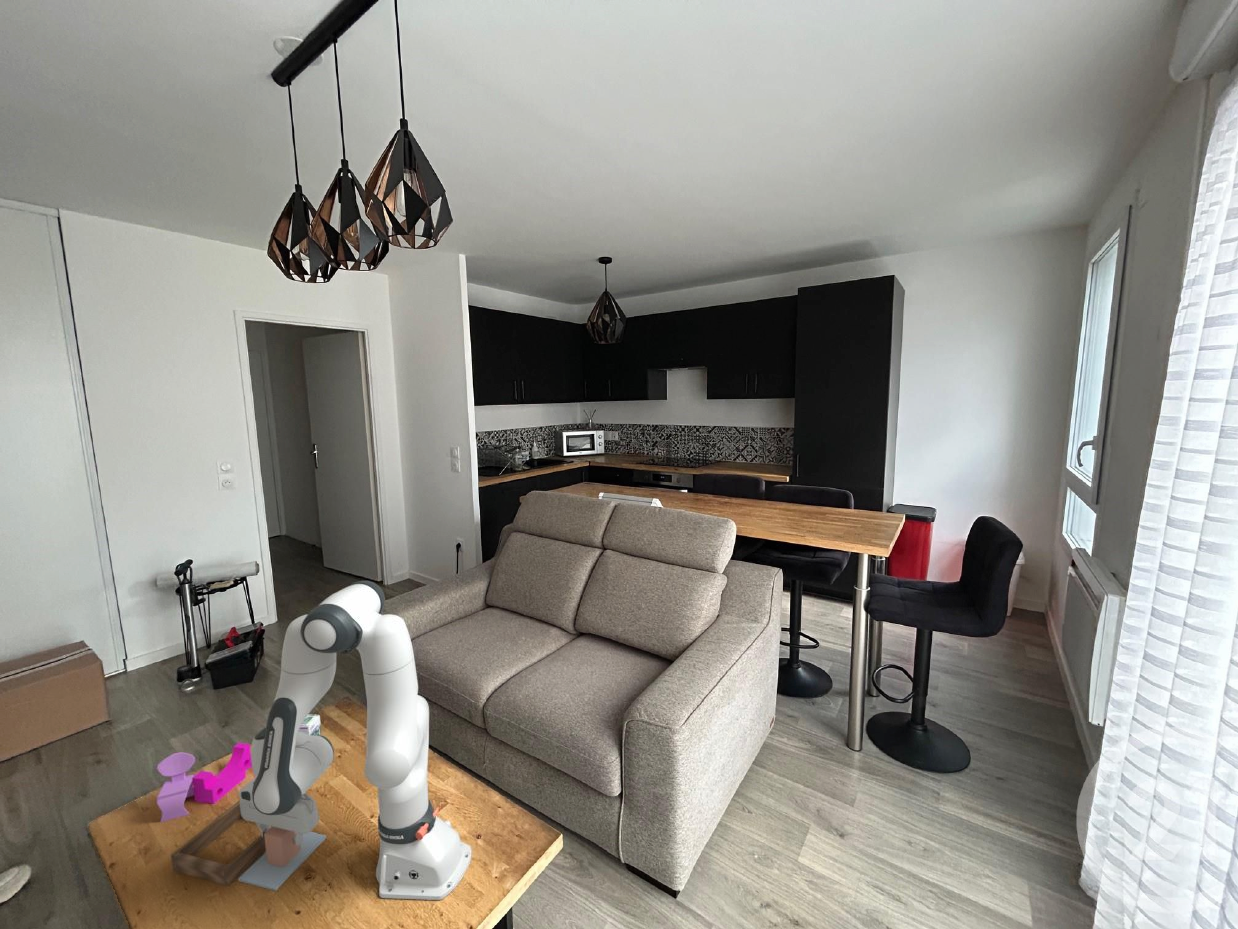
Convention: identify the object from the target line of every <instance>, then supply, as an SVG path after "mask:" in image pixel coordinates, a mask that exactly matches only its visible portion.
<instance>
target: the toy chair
mask: <svg viewBox="0 0 1238 929" xmlns="http://www.w3.org/2000/svg"><path fill="white" fill-rule="evenodd" d="M195 762H196V757H195V756H194V755H193V754H190V753H189V752H180V751H179V752H175V753H173V754H171V755H169V756H167V757H165V758H164V759H163V760H161V761H160V762H159V763H158V765H157V767H156V770H157V771H158V773H160V775H162V777H170V778H171V779H170V780H166V781H165V782H164V783H163V786H162V787H161V790H160V791H159V793H158V794H157V797H156V804H157V806H158V807H159V809H160V811H161V817H160V821H159V822H160V823H163V822H166V821H170V820H172V819H177V818H181V817H184V816H187V815H190V812H189V811H188V810H187V809H186V808H185V801H186V798H190V797H193V796H194V788H193V780H192V778H193V777H194V776H195V774H190V775H186V772H188V771H189V770H190V769H191V768H192V766H193V765H194V764H195ZM194 797H195V796H194Z"/></svg>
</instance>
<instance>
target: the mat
mask: <svg viewBox="0 0 1238 929" xmlns="http://www.w3.org/2000/svg"><path fill="white" fill-rule="evenodd" d="M326 838H327V834H322V833H317V832H314V831H310V832H309V833H308V834H303V841H302V842H301V843H300V844H301V850H300V851H299V852H298V853H297V854H296V855H295V856H294V857H293V858H292V859H291V861H290V862H289V863H288V864H287V865H286V866H285V867H281V866H277V865H273V864H269V863H267V856H266V851H265V852H264V853H263V854H262V855H261V856H260V857H259V858H257V859H256V860H255V861H254V862H253V863H252V864H251V865H250V866H249V867H248V868H247V869H246V870H245V871H244V872H243V873H242V874H240V875H239V876H238V877H237V881H238V882H242V883H245V884H248V885H252V886H256V887H260V888H264V889H268V890H271V891H275V892H277V890H278V889H279V888H280V887H282V885H283V884H284V883H285V882H286V881H287V880H288V878H290V876H291V875H292V874H293V873H295V871H296V870H297V869H298V868H299V867H300V866H301V865H302V864H303V863H304V862H305V861H306V860H307V859H308V857H309V856H310V855H311V854H312V853H313V852H314V851H315V850H316V849H317V848H318V847H319V846H320V845H321V844H322V843H323V842H324V841H325V839H326Z"/></svg>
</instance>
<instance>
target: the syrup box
mask: <svg viewBox="0 0 1238 929" xmlns="http://www.w3.org/2000/svg"><path fill="white" fill-rule="evenodd" d="M299 731H300V732H303V733H306V734H309V735H322V736H323V734H322V733H323V732H322V725H321V715H320V714H313V713H309V714H308V715H307V717H306V718H305V720H304V721H303V723H302V725H301V727H300V729H299Z"/></svg>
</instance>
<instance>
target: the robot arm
mask: <svg viewBox="0 0 1238 929" xmlns="http://www.w3.org/2000/svg"><path fill="white" fill-rule="evenodd" d="M385 603H386V597H385V593H384V591H383V589H382V588H381V587H380V586H379V584H377V583H376V582H373V581H370V580H359V581H358V580H357V581H355V582H352V583H350V584H347V586H345V587H344V588H342V589H341V590H338V591H336V592H334V593H332V594H331V595H329V596H328V597H327V598H325V599H324V600H322V602H321V603H319V605H317V606H315V607H314V608H312V609H311V610H310V612H308V614H303V615H301V616H298V617H297V618H295V619H294V620H292V621H291V622H290V624H289V625H288V627H287V628H286V631H285V634H284V640H283V645H282V649H281V660H280V661H281V662H280V667H281V668H280V675H279V676H280V677H279V682H278V685H277V686H278V688H277V690H276V694H275V697H274V700H273V703H272V705H271V707H270V710H269V713H268V716H267V722H266V726H265V727H264V728H263V729H262V730H260V731H259V732H258V733H257V734H256V735H254V737H253V739H252V741H251V742H252V743H251V747H250V752H251V762H252V766H251V769H252V772H253V774H254V776H255V777H254V778H253V779H251V780H249V782H247V783H246V784H245V785H244V786H243V787H242V788H241V789H239V790H238V792H237V793H238V798H239V800H240V811H241V816H242V817H241V818H243V819H244V821H247V822H251V823H255V825H256V827H257V828H258V829H259V831H260V835H261V836H262V837H264V834H265V833H266V832H267V831H268V830H269V829H270V828H271V826H273V827H277V828H281V829H285V830H290V831H294V832H295V834H296V836H294V837H293V838H292V841H293V844H295V845H299V844H300V843H301V842H302V841H303V834H308V833H309V832H312V831H313V829H314V828H315V827H316V826H317V825H318V823H319V822H320V816H319V810H318V807H317V803H316V801H315V799H314V797H312V796H310V794H308V793H306V792H307V791H308V790H309V789H310V788H311V787H313V785H314V784H315V783H316V782H317V781H318V780H319V778H320V777H321V776H322V775H323V774H324V773H325V772H326V771H327V770H328V769H329V768H330V766H331V765H332V764H333V762H334V759H335V750H334V747H333V746H334V745H333V744H332V742H331V740H330V739H329V738H327V737H326V736H324V735H323V734H322V735H309V734H306V733H303V732H300V731H299V729H300V727H301V725H302V723H303V721H304V720H305V718H306V717H307V715H308V714H311V712H312V710H313V709H314V708H315V706H316V705H317V704H318V703H319V702H320V701H321V699H322V698H323V697H324V696H325V695H326V694H327V693H328V692H329V690H330V689H331V686H332V685H333V682H334V680H335V675H336V670H337V653H338V654H341V655H346V654H350V653H352V652H353V651H354V650H357V651H358V653H359V655H360V660H361V667H362V672H363V673H362V674H363V681H364V687H365V689H364V690H365V694H366V706H367V707H366V708H367V709H366V710H367V711H366V753H365V754H366V755H365V762H364V763H365V764H364V775H365V776H364V777H365V779H366V780H367V781H368V782H369V783H370V784H371V785H372V786H374V787H376V788H377V798H378V800H377V801H378V802H377V803H378V812H379V813H378V816H377V830H378V836H379V838H380V841H379V842H380V843H379V855H378V860H377V865H376V869H375V878H376V880H377V882H378V884H379V890H378V891H379V892H378V896H379V897H380V898H382V899H396V900H397V899H399V900H406V899H407V900H424V901H425V900H426V901H427V900H430V901H440V900H443V899H445V898H446V897H447V896H448V895H450V893H451V892H453V891H454V890H455V889H456V887H457V885H459V883H460V882H461V880H462V878H463V877H464V875H465V874H466V872H467V870H468V868H469V866H470V863H471V860H472V855H473V854H472V853H473V852H472V846H471V845H470V844H468V843H465V842H463V841H461V837H460V834H459V833H458V831H457V830H456V829H454V828H453V827H452V823H451V822H450V821H449V820H445V821H444V820H442V819H441V818H440V817H439V816H437V815H438V814H439V811H440V810H439V809H440V808H439V806H438V807H436V809H435V808H434V807H433V805H432V802H431V800H430V799H429V786H428V763H429V762H428V761H429V745H430V743H429V741H430V740H429V738H430V735H429V734H430V730H429V729H430V725H429V724H430V708H429V704H428V701H427V700H426V698H424V697H423V696H421V695H419V694H418V693H419V682H418V674H417V668H416V660H415V655H414V654H415V653H414V648H413V643H412V640H411V636H410V632H409V630H408V627H407V624H406V622H405V620H404V619H403V618H402V617H400V616H399V615H397V614H389V613H387V614H381V613H382V612H383V609H384V607H385ZM434 809H435V810H434Z"/></svg>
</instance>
